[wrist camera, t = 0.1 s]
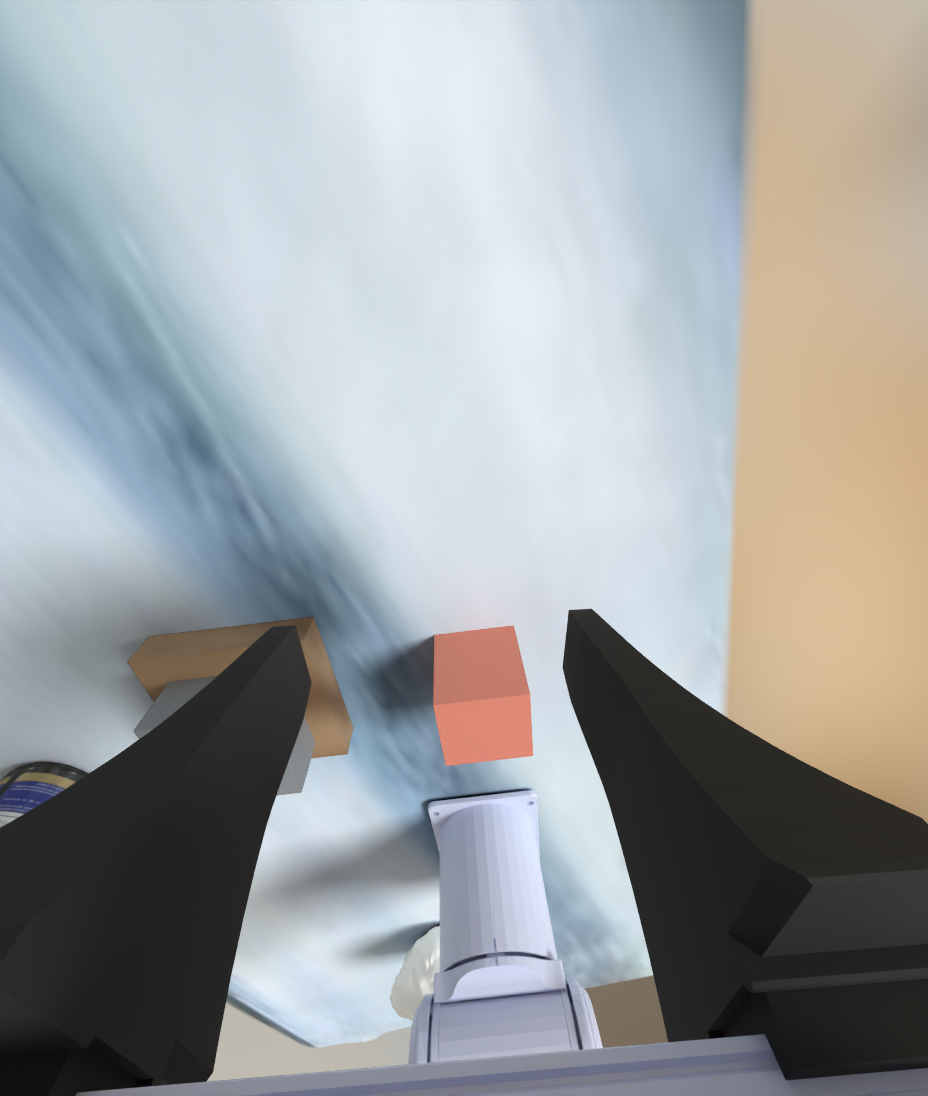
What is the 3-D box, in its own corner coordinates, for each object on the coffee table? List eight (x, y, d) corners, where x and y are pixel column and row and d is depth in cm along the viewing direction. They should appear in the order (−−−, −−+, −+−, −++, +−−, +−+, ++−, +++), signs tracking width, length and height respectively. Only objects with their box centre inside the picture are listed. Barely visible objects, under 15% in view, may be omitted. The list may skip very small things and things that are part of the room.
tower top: (315, 742, 25) (301, 792, 22) (215, 754, 25) (189, 806, 23) (283, 667, 22) (262, 715, 20) (169, 681, 22) (133, 731, 20)
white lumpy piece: (507, 891, 44) (506, 989, 33) (524, 974, 42) (530, 1105, 31) (394, 911, 45) (356, 1013, 33) (408, 993, 43) (374, 1127, 32)
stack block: (517, 682, 26) (533, 755, 22) (444, 690, 26) (445, 765, 22) (513, 624, 24) (530, 694, 20) (434, 634, 24) (433, 705, 20)
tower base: (354, 719, 28) (347, 754, 26) (219, 735, 28) (200, 771, 26) (316, 609, 24) (303, 640, 21) (155, 629, 24) (126, 661, 21)
